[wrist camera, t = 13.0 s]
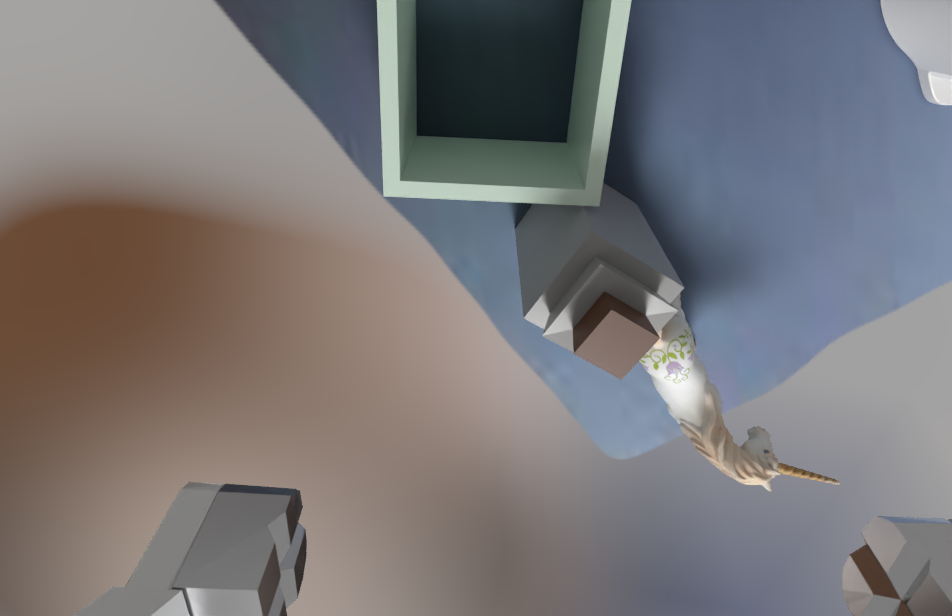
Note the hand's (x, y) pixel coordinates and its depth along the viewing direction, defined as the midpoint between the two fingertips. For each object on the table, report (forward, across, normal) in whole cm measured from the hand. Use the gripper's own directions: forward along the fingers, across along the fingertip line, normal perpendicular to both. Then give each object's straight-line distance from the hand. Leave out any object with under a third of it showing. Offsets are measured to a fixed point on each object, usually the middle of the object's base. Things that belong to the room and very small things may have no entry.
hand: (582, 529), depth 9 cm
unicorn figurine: (+39, -18, +19) cm, 47 cm away
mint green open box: (+39, 0, -1) cm, 39 cm away
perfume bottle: (+39, -6, +10) cm, 41 cm away
